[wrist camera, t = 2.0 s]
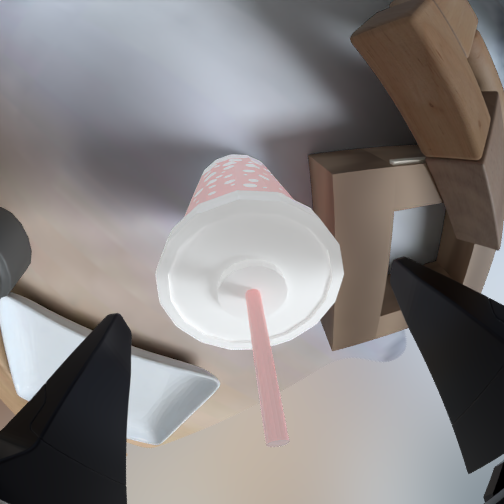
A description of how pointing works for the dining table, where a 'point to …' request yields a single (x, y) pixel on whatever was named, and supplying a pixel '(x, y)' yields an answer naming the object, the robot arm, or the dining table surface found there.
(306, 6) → the dining table surface
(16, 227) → the candle holder
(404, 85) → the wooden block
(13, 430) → the robot arm
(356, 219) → the holder block
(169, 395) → the salad plate
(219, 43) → the dining table surface
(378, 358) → the dining table surface
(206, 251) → the beverage cup
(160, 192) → the dining table surface
